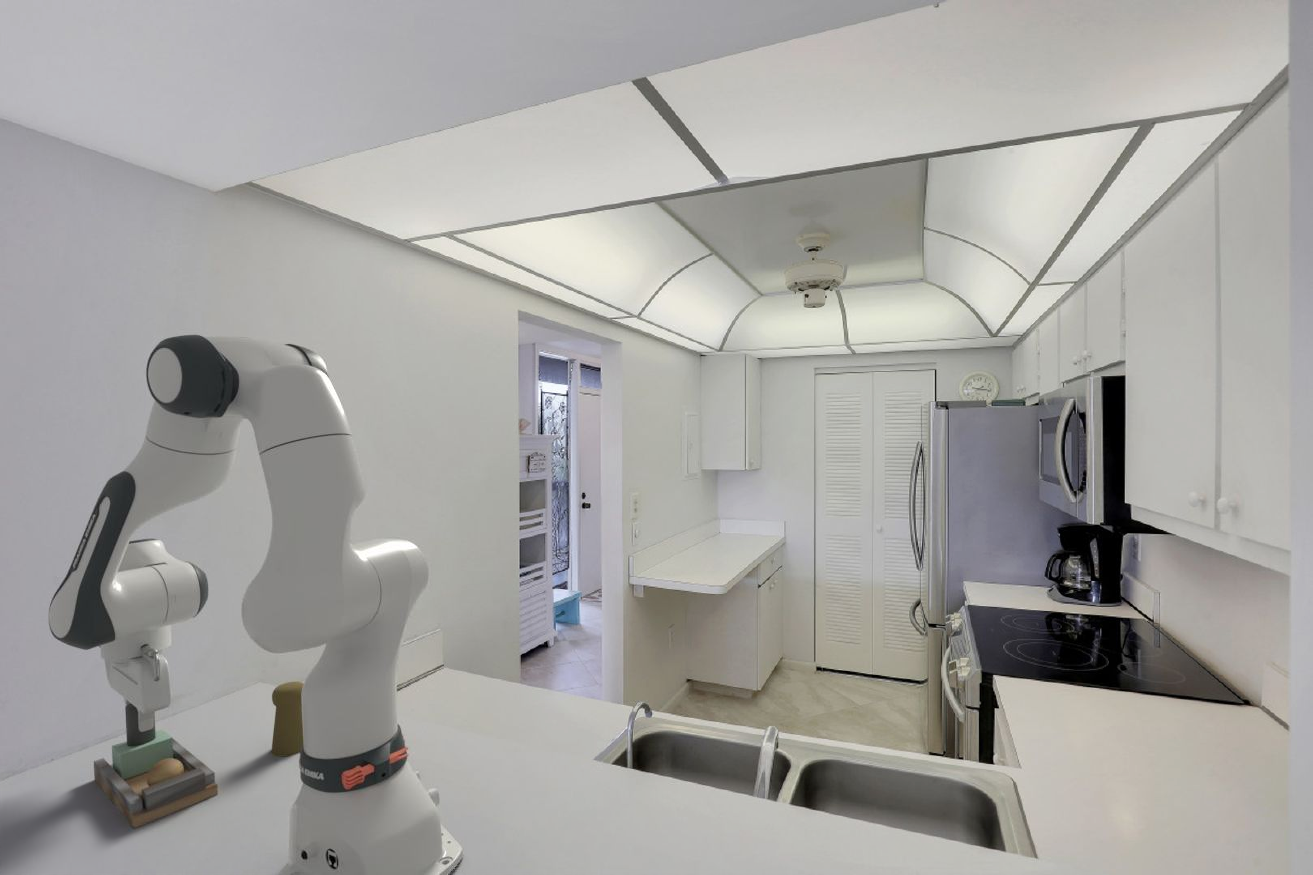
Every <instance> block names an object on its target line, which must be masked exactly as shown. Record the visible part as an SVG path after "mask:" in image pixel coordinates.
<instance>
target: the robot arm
mask: <svg viewBox="0 0 1313 875" xmlns="http://www.w3.org/2000/svg"><path fill="white" fill-rule="evenodd" d="M145 371H146V372H145V373H146V375H145V376H146V384H147V388H148V391H149V393H150V395H151V397H152V398H153V399H154V402H153V405H152V408H151V410H150V411H151V412H150V414H149V417H148V421H147V426H146V431H145V437H144V440H143V442H142V445H141V448H140V449H139V451H138V452H137V454H136V455H135V457H134V458H133V460H132V461H131V462H130V463H129V464H128V465H126V467H125V468H124V469H123V470H122V471H120V472H119V473H116V474H114V475H113V476H112V477H110V478H109V479H108V480H107V482H106V483H105V485H104V486H103V488H102V491H101V492H100V494H99V495H98V498H97V500H96V503H95V505H94V507H93V510H92V512H91V514H90V516H89V519H88V521H87V524H86V527H85V530H84V532H83V534H82V536H81V539H80V542H79V544H78V547H77V549H76V551H75V555H74V556H73V559H72V561H71V563H70V566H69V569H68V570H67V573H66V575H65V577H64V578H63V581H62V582H61V583H60V585H59V586H58V588H57V590H56V591H55V593H54V595H53V596H52V599H51V600H50V601H51V602H50V604H49V608H48V626H49V630H50V633H51V634H52V636H53V637H54V638H55V639H56V640H58V641H60V642H61V643H63V644H66V645H68V646H70V647H73V648H77V649H79V650H85V651H87V650H88V651H89V650H92V649H94V648H97V647H99V648H100V658H101V659H102V660H104V664H105V672H106V677H107V682H108V684H109V686H110V687H111V689H113V690H114V691H115V692H117V693H118V694H119V695H120V696H121V697H122V698H123V700H124V705H125V707H126V706H127V705H128V704H130V703H131V704H133V705H134V706H135V707H136V708H137V711H138V719H137V728H138V729H139V731H141V732H144V731H147V730H150V729H152V728H153V726H154V719H153V717H154V714H155V715H156V712H157V711H160V710H164V709H167V708H169V707H170V706H171V704H172V700H173V694H172V693H173V692H172V683H171V682H172V680H171V673H170V672H171V671H170V665H169V663H168V660H167V658H166V657H164V656H163V654H164V653H163V650H166V649H167V648H169V647H171V645H172V642H173V641H172V625H176V624H179V623H184V622H186V621H189V620H190V619H193V618H195V617H197V616H198V615H199V614H200V613H201V611H202V610H203V608H204V607H205V606H206V603H207V601H208V598H209V581H208V577H207V574H206V573H205V572H204V570H202V569H201V568H200V567H198V566H197V565H196V564H194V563H192V562H189V561H182V560H180V559H177V558H176V557H174V556H173V555H171V554H170V553H168V551H167V550H166V547H165V544H164V542H163V540H160V539H157V538H143V539H136V540H131V539H132V537H133V535H134V534H135V533H136V532H137V530H138V529H140V528H141V527H142V526H143V525H145V524H146V523H148V522H149V521H151V520H153V519H154V518H156V517H158V516H160V515H162V514H164V513H167V512H169V511H171V510H173V509H175V508H178V507H180V506H181V507H182V506H184V505H186V504H189V503H192V502H195V501H197V500H200V499H203V498H204V497H207V496H208V495H210V494H211V493H213V492H215V491H216V490H217V489H219V488H220V487H221V486H223V484H225V482H226V481H227V480H228V478H229V475H230V474H231V472H232V470H233V468H234V465H235V461H236V456H237V451H238V447H239V441H240V435H241V429H242V423H243V421H244V420H246V419H247V421H249V423H250V425H251V426H252V429H253V432H254V438H255V442H256V446H257V452H258V455H259V460H260V463H261V468H262V472H263V476H264V481H265V485H266V488H267V489H266V490H267V493H268V498H269V504H270V509H271V535H270V541H269V547H268V550H267V553H266V555H265V559H264V562H263V564H262V566H261V568H260V569H259V571H258V572H257V574H256V575H255V576H254V577H253V579H252V580H251V582H250V583H249V584H248V586H247V588H246V589H245V591H244V595H243V598H242V602H241V619H242V620H241V621H242V624H243V626H244V629H245V632H246V634H247V635H248V636H249V638H250V640H252V641H253V642H254V643H255V644H256V645H257V646H258V647H259V648H260V649H263V650H264V651H266V652H269V653H272V654H286V653H293V652H299V651H305V650H310V649H314V648H318V647H321V646H323V645H325V647H324V650H323V651H322V654H321V655H320V658H319V660H318V661H317V663H316V664H315V666H314V667H313V668H312V669H311V671H310V672H309V673H308V675H307V677H306V678H305V680H304V682H303V684H304V685H303V688H302V694H301V700H302V722H303V746H302V747H301V750H300V752H299V760H298V768H299V771H300V776H299V777H300V780H301V782H302V784H301V788H300V790H299V793H298V796H297V797H296V799H295V801H294V803H293V804H292V807H291V808H290V812H289V831H288V832H289V835H288V863H287V865H286V866H284V868H283V869H282V870H281V871H280V872H279V873H278V875H447V874H449V873H450V872H451V871H452V870H453V869H454V870H455V869H456V868H457V867H456V866H458V865H459V864H460V863H459V862H461V861H462V859H463V857H464V851H463V847H462V846H461V845H460V843H459V842H458V841H457V840H456V839H455V838H454V836H452V835H451V833H449V831H448V830H447V829H446V828H445V827H444V826H443V825H442V824H441V819H440V818H441V817H440V813H439V810H438V808H437V807H438V806H439V805H440V794H439V792H438V790H437V788H435V787H431V788H429V789H427V790H426V788H425V787H424V785H423V783H422V782H421V774H420V772H419V771H418V770H415V771H414V770H413V768H412V767H411V765H410V763H409V761H407V760H408V756H409V754H408V752H407V751H408V750H409V747H408V746H406V745H405V744H406V739H405V737H404V735H403V732H402V729H401V726H400V724H399V723H398V701H397V700H398V699H397V698H398V690H397V689H398V687H397V683H398V682H397V681H398V680H397V679H398V668H399V667H398V666H399V659H400V654H401V649H402V646H403V640H404V637H405V633H406V629H407V627H408V626H407V625H408V622H409V620H410V617H411V614H412V612H413V610H414V607H415V605H416V603H418V600H419V598H421V596H422V594H423V593H424V591H425V589H426V587H427V585H428V581H429V566H428V561H427V559H426V556H425V555H424V553H423V552H422V550H421V549H420V548H419V547H418V546H417V545H416V544H414V543H413V542H411V541H409V540H406V539H401V538H399V539H397V538H372V539H368V540H364V541H360V542H355V543H352V541H351V540H352V539H351V527H352V519H353V516H354V512H355V510H356V509H357V508H358V507H359V506H360V505H361V504H362V502H363V501H364V499H365V497H366V493H367V485H366V480H365V476H364V474H363V470H362V466H361V464H360V459H359V454H358V452H357V447H356V444H355V441H354V436H353V433H352V430H351V428H350V426H351V425H350V423H349V421H348V418H347V415H346V412H345V410H344V407H343V405H342V403H341V400H340V398H339V396H338V394H337V391H336V390H335V388H334V386H333V383H332V382H331V380H330V378H329V377H330V376H329V371H328V369H327V365H326V363H325V362H324V360H323V359H322V357H321V356H320V355H319V354H318V353H316V352H315V351H313V350H311V349H309V348H306V347H304V346H300V345H298V344H297V345H296V344H292V343H284V344H283V343H278V342H272V341H267V340H260V339H259V340H258V339H252V338H249V337H241V336H221V335H220V336H202V335H199V334H187V335H186V334H185V335H177V336H172V337H168V338H165V339H162V340H161V341H160V342H159V343H158V344H157V345H156V346H155V348H154V349H153V350H152V352H150V354H149V357H148V360H147V364H146V370H145ZM460 860H461V861H460ZM458 863H459V864H458ZM457 864H458V865H457ZM455 867H456V868H455ZM454 870H453V871H454ZM453 871H452V872H453ZM452 872H451V873H452ZM451 873H450V874H451ZM450 874H449V875H450Z"/></svg>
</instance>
